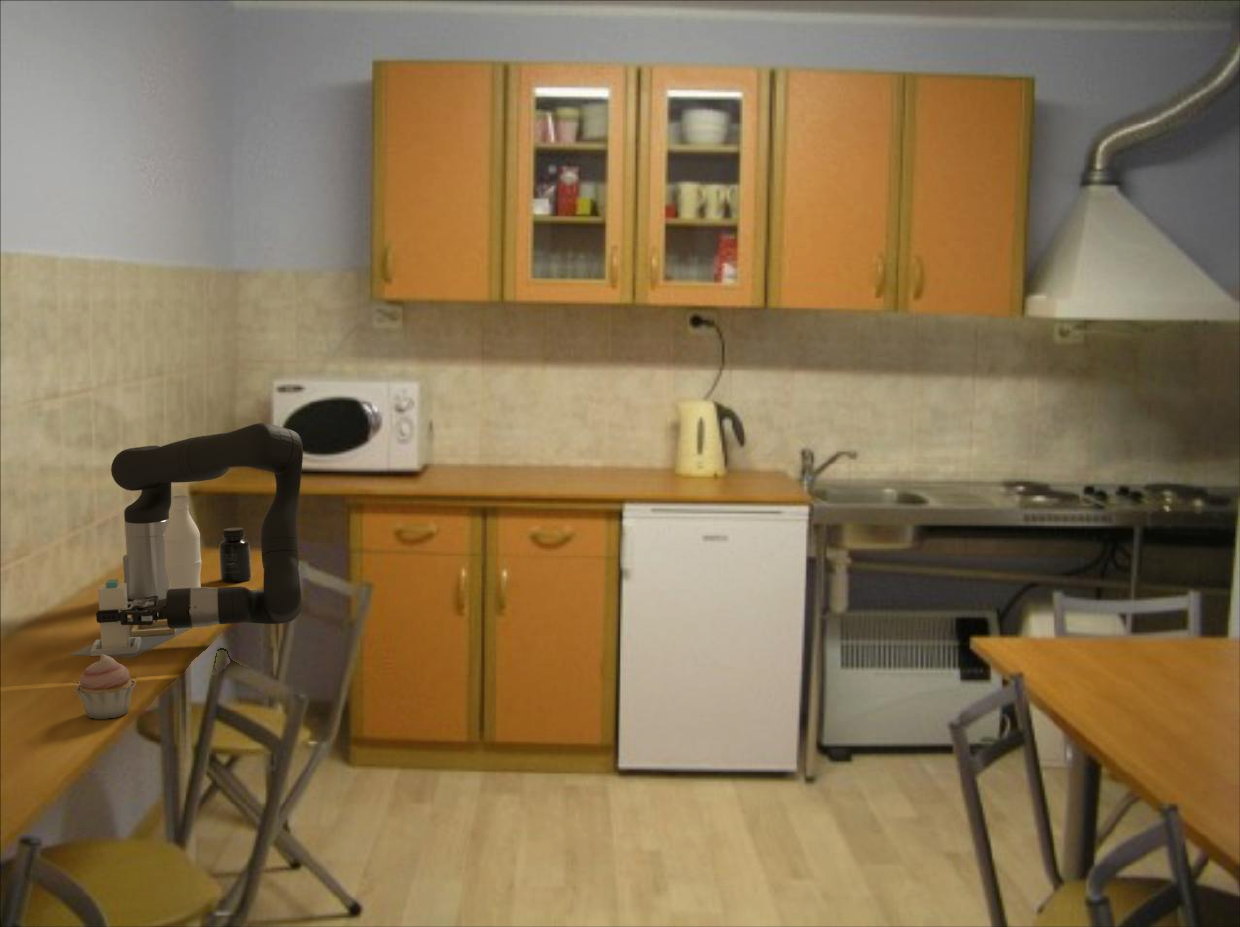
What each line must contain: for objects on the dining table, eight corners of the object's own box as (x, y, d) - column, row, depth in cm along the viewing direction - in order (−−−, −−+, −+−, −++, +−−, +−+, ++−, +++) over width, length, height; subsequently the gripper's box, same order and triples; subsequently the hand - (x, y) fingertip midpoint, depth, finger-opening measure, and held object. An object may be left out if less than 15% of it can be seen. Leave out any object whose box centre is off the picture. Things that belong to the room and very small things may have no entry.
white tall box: (102, 652, 258) (97, 584, 256) (104, 646, 262) (100, 579, 260) (127, 651, 259) (123, 583, 257) (130, 644, 263) (126, 577, 261)
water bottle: (193, 620, 284) (186, 499, 280) (161, 619, 285) (154, 499, 282) (210, 612, 291) (204, 494, 287) (179, 610, 292) (172, 493, 289)
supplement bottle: (257, 578, 322) (255, 527, 320) (235, 584, 316) (232, 532, 315) (237, 575, 326) (234, 525, 324) (214, 581, 320) (211, 530, 318)
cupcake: (90, 705, 229) (86, 646, 227) (146, 705, 228) (143, 646, 227) (66, 723, 219) (62, 662, 218) (124, 723, 219) (120, 662, 218)
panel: (68, 658, 257) (67, 649, 256) (140, 624, 281) (139, 617, 280) (132, 661, 254) (131, 652, 254) (199, 627, 278) (198, 619, 278)
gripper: (195, 580, 269) (101, 585, 265) (190, 596, 255) (91, 602, 251) (197, 617, 270) (104, 623, 266) (192, 636, 256) (94, 642, 253)
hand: (98, 613), depth 259 cm, fingers closed on white tall box, 4 cm apart
